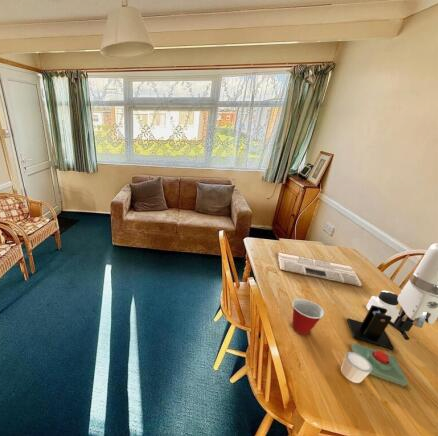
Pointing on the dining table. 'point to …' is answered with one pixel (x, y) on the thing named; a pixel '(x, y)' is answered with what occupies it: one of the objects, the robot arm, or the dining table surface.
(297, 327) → the plastic cup
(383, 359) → the button
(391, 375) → the button box
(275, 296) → the dining table surface
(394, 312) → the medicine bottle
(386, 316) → the bracket
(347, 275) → the newspaper
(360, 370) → the white cup
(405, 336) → the lever
